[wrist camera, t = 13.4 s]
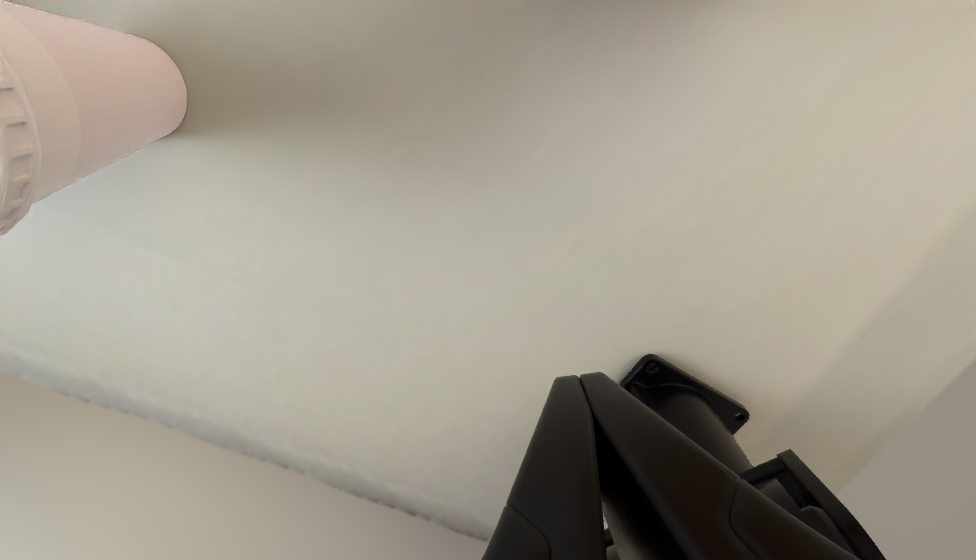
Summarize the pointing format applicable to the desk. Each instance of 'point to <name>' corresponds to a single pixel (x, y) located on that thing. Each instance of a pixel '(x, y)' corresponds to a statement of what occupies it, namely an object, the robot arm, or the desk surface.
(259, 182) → the desk surface
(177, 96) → the smoothie
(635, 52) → the desk surface
